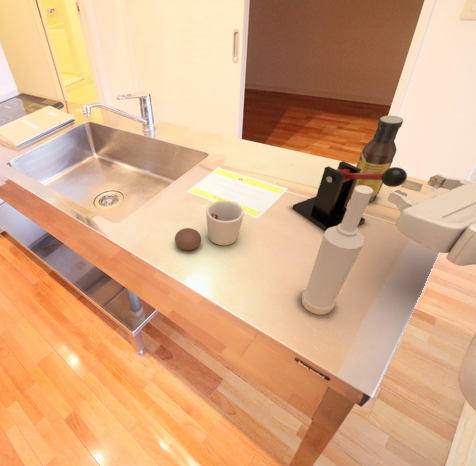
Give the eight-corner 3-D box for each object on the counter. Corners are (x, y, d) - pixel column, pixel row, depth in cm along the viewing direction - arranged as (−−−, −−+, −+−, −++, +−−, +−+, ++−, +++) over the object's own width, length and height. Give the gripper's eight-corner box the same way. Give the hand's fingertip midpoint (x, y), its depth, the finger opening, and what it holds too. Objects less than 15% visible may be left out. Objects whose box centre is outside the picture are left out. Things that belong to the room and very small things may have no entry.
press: (363, 223, 72) (385, 174, 64) (332, 236, 71) (350, 187, 63) (321, 197, 81) (335, 151, 73) (292, 208, 80) (303, 162, 71)
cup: (218, 217, 81) (219, 190, 76) (249, 226, 77) (253, 198, 72) (199, 242, 75) (200, 215, 70) (232, 253, 71) (235, 226, 65)
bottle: (295, 295, 60) (333, 182, 44) (321, 290, 60) (369, 176, 44) (310, 318, 56) (357, 203, 40) (338, 313, 56) (398, 196, 40)
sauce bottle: (355, 186, 83) (386, 110, 70) (381, 196, 79) (418, 117, 66) (340, 195, 81) (368, 118, 68) (365, 206, 77) (400, 126, 64)
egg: (169, 244, 76) (169, 231, 73) (188, 233, 78) (188, 220, 75) (187, 257, 72) (187, 244, 69) (206, 245, 74) (207, 232, 71)
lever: (412, 184, 58) (411, 164, 57) (397, 190, 57) (396, 170, 56) (341, 180, 71) (340, 165, 70) (328, 185, 70) (327, 169, 70)
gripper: (574, 190, 46) (464, 153, 56) (473, 237, 42) (374, 188, 52) (543, 224, 50) (445, 184, 60) (448, 269, 46) (361, 218, 56)
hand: (412, 186), depth 56 cm, fingers open, 8 cm apart
